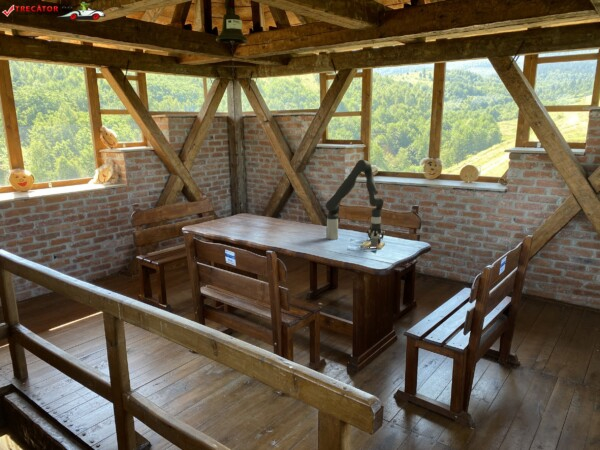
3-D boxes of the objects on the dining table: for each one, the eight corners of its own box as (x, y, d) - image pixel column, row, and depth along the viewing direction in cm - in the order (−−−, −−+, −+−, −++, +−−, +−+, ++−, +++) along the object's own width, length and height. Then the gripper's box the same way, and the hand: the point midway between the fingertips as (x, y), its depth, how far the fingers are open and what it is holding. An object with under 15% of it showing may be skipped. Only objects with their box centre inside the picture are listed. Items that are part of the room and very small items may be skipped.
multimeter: (369, 242, 362) (370, 218, 358) (365, 239, 371) (366, 216, 367) (386, 241, 364) (387, 217, 360) (382, 238, 374) (382, 215, 370)
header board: (360, 247, 346) (360, 241, 345) (365, 243, 360) (365, 236, 359) (380, 249, 340) (380, 242, 339) (385, 244, 354) (385, 238, 353)
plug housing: (370, 245, 345) (371, 239, 344) (374, 242, 355) (374, 236, 354) (377, 246, 343) (377, 239, 342) (380, 242, 353) (380, 236, 352)
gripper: (365, 222, 345) (365, 243, 348) (384, 223, 339) (383, 245, 343) (368, 220, 351) (367, 241, 355) (386, 222, 346) (385, 243, 350)
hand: (375, 243), depth 349 cm, fingers closed on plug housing, 4 cm apart
